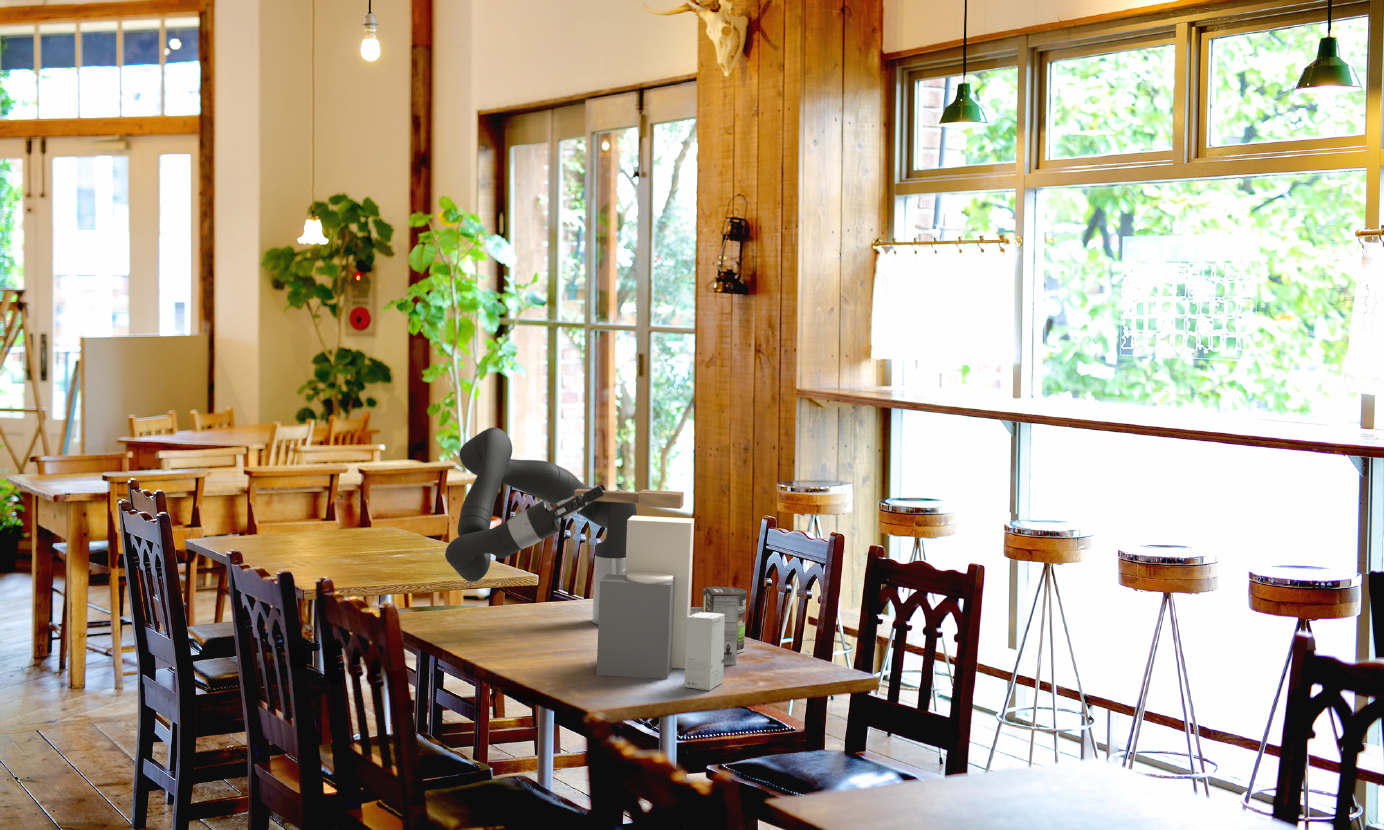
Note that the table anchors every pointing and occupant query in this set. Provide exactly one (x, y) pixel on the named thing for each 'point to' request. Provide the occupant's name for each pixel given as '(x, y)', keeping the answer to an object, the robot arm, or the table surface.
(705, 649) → the skincare box
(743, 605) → the coffee can
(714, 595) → the coffee box
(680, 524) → the tall plinth
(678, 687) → the table surface
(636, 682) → the table surface
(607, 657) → the gray box
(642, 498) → the oak block
